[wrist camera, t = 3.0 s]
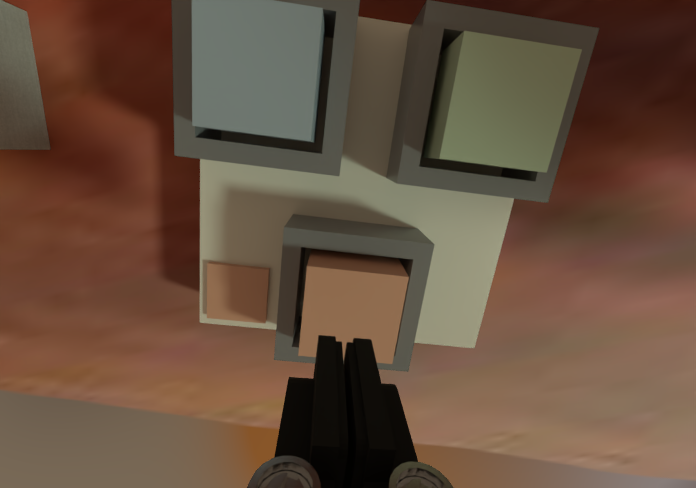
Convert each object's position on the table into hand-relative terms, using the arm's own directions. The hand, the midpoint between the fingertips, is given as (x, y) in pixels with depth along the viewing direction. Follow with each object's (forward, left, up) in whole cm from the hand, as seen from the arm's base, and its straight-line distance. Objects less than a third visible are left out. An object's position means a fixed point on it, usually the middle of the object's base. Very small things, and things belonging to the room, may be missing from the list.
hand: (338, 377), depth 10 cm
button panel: (-1, -5, -11) cm, 12 cm away
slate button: (+4, -9, -6) cm, 12 cm away
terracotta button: (-1, 0, -6) cm, 6 cm away
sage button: (-5, -9, -6) cm, 12 cm away
